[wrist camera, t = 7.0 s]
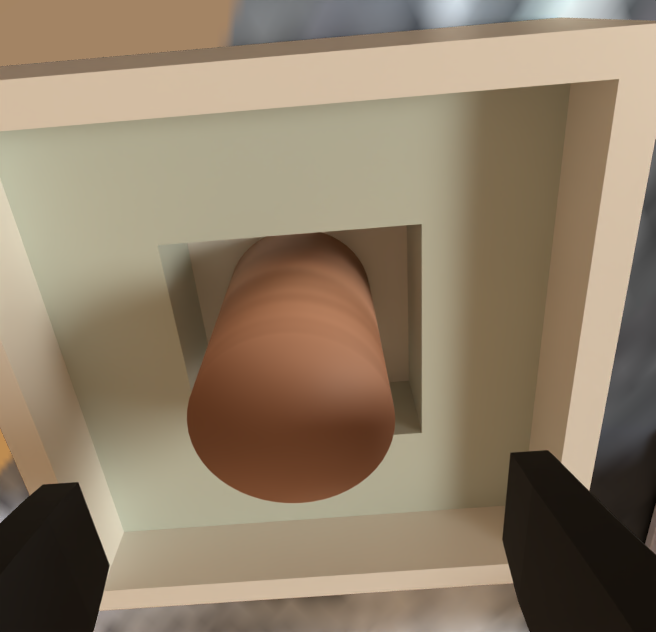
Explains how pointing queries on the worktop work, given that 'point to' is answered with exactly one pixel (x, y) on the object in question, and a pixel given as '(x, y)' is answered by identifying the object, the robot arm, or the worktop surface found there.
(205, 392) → the peg
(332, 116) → the bore box
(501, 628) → the worktop surface
